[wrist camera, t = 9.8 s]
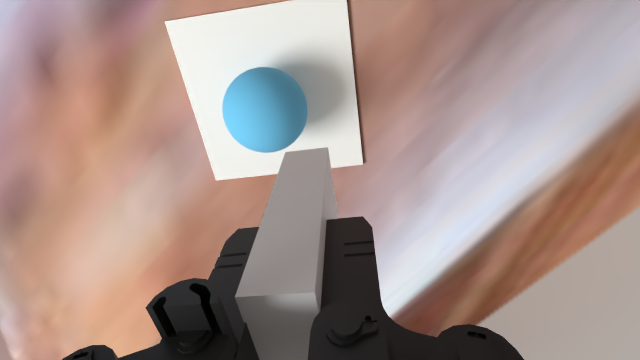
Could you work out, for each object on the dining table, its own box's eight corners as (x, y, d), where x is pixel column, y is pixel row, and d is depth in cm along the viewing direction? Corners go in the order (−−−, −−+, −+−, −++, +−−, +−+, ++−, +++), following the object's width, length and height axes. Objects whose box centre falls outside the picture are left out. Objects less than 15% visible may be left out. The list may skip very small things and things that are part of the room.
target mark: (165, 21, 23) (164, 21, 23) (345, -9, 22) (345, -9, 22) (216, 179, 29) (216, 180, 29) (362, 163, 28) (363, 164, 27)
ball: (282, 42, 20) (220, 55, 23) (254, 130, 19) (192, 131, 22) (331, 92, 24) (273, 97, 27) (311, 166, 23) (253, 163, 26)
